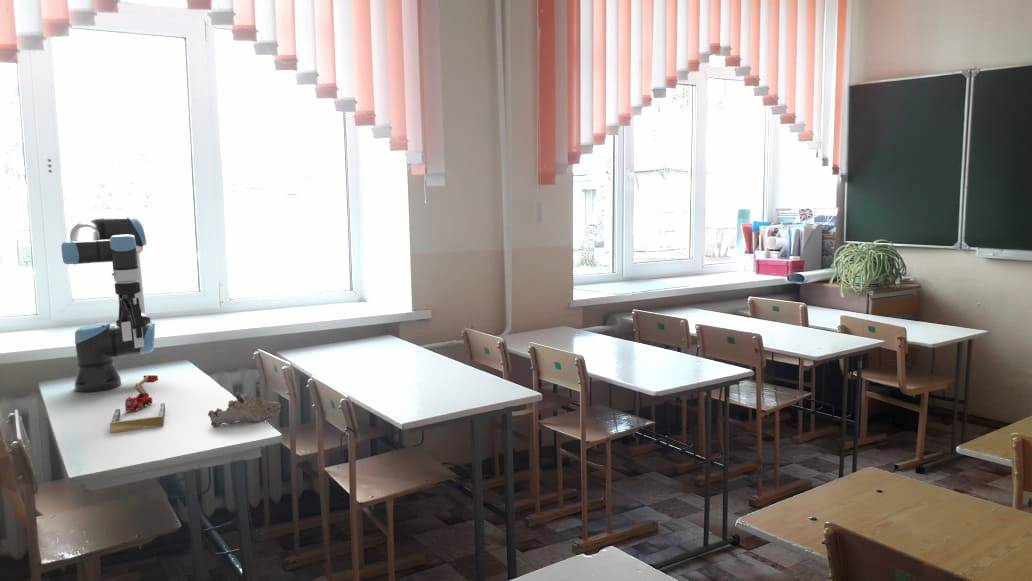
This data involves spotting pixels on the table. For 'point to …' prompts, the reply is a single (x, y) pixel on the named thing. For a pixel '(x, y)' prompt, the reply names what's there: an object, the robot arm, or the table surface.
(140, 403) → the toy fire truck
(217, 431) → the table surface
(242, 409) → the mineral specimen
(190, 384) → the table surface
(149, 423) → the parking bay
